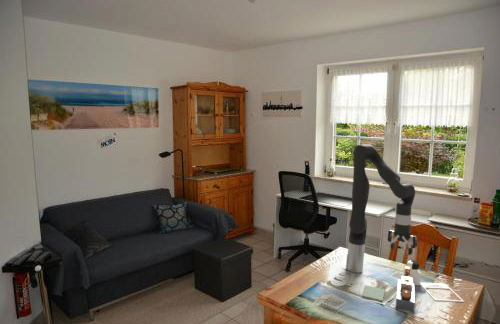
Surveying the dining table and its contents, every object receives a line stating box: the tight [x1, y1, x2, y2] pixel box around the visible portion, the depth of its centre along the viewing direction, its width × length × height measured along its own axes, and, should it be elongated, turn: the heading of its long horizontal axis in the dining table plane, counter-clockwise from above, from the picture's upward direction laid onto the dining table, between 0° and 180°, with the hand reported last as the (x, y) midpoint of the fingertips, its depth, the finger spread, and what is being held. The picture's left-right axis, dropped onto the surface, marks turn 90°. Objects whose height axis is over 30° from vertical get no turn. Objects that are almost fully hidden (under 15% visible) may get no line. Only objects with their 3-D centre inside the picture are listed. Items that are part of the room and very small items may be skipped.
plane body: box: [395, 265, 416, 313], centre depth 174 cm, size 22×8×13 cm, turn 155°
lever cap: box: [400, 275, 412, 293], centre depth 175 cm, size 8×5×5 cm, turn 155°
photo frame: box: [419, 281, 465, 303], centre depth 183 cm, size 15×1×18 cm
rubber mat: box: [361, 284, 385, 303], centre depth 179 cm, size 10×12×1 cm
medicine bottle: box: [402, 259, 423, 286], centre depth 193 cm, size 7×7×12 cm
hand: (401, 252), depth 180 cm, fingers open, 8 cm apart
